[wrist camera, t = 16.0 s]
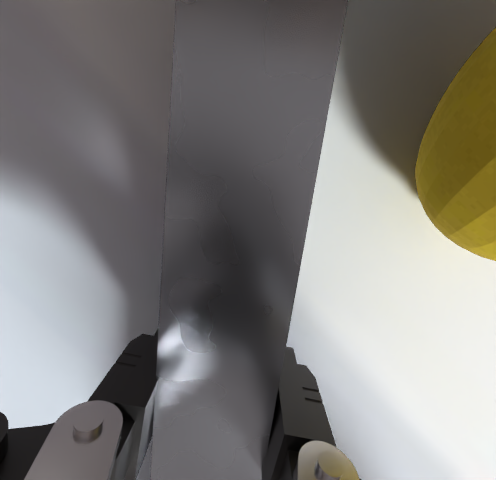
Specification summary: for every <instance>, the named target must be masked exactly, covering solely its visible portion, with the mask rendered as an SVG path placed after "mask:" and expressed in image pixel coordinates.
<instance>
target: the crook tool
mask: <svg viewBox="0 0 496 480" xmlns="http://www.w3.org/2000/svg"><path fill="white" fill-rule="evenodd" d="M347 4H348V0H176V11H175V30H174V49H173V67H172V86H171V105H170V123H169V142H168V161H167V179H166V198H165V217H164V235H163V254H162V273H161V291H160V310H159V329H158V347H157V366H156V380H157V381H158V382H157V388H156V394H155V403H154V422H153V441H152V459H151V478H150V480H262V473H261V470H262V467H263V463H264V460H265V456H266V453H267V448H268V443H269V437H270V432H271V426H272V421H273V415H274V410H275V404H276V398H277V393H278V387H279V382H280V376H281V371H282V365H283V359H284V354H285V348H286V343H287V337H288V332H289V326H290V321H291V315H292V309H293V304H294V298H295V293H296V287H297V282H298V276H299V271H300V265H301V259H302V254H303V248H304V243H305V237H306V232H307V226H308V220H309V215H310V209H311V204H312V198H313V193H314V187H315V182H316V176H317V170H318V165H319V159H320V154H321V148H322V143H323V137H324V131H325V126H326V120H327V115H328V109H329V104H330V98H331V93H332V87H333V81H334V76H335V70H336V65H337V59H338V54H339V48H340V43H341V37H342V31H343V26H344V20H345V15H346V9H347Z"/></svg>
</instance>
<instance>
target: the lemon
mask: <svg viewBox="0 0 496 480" xmlns="http://www.w3.org/2000/svg"><path fill="white" fill-rule="evenodd" d="M415 179H416V186H417V192H418V196H419V199H420V201H421V204H422V206H423V208H424V210H425V212H426V214H427V216H428V217H429V219H430V220H431V221H432V223H433V224H434V226H435V227H436V228H437V229H438V230H439V231H440V232H442V233H443V234H444V235H445V236H446V237H447V238H448V239H450V240H451V241H453V242H454V243H455V244H457V245H458V246H460V247H462V248H464V249H466V250H468V251H470V252H472V253H474V254H476V255H479V256H481V257H484V258H487V259H491V260H494V261H496V27H495V29H494V30H493V31H492V32H491V33H490V34H489V35H488V36H487V37H486V38H485V39H484V41H483V42H482V43H481V44H480V45H479V46H478V47H477V49H476V50H475V51H474V52H473V53H472V55H471V56H470V57H469V58H468V60H467V61H466V62H465V64H464V65H463V66H462V68H461V69H460V70H459V72H458V73H457V74H456V76H455V77H454V79H453V80H452V82H451V83H450V85H449V86H448V88H447V90H446V91H445V93H444V95H443V96H442V98H441V100H440V101H439V103H438V105H437V107H436V109H435V111H434V113H433V115H432V117H431V119H430V121H429V124H428V126H427V128H426V130H425V133H424V136H423V139H422V141H421V145H420V149H419V153H418V157H417V162H416V166H415Z"/></svg>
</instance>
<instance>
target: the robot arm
mask: <svg viewBox="0 0 496 480" xmlns="http://www.w3.org/2000/svg"><path fill="white" fill-rule="evenodd" d="M158 329H159V328H158ZM157 347H158V330H157V331H156V333H155V335H154V336H152V335H147V334H142V335H140V336H138V337H137V338H135V339H134V340H132V341H130V343H129V344H128V346H127V347H126V348H125V350H124V351H123V353H122V355H120V357H119V358H118V359H117V361H116V363H115V364H114V365H113V366H112V368H111V369H110V371H109V372H108V373H107V375H106V376H105V378H104V379H103V380H102V382H101V383H100V385H99V386H98V387H97V389H96V390H95V391H94V393H93V394H92V396H91V397H90V398H89V400H88V401H87V402H84V403H81V404H78V405H76V406H74V407H72V408H70V409H69V410H67V411H66V412H65V413H63V414H62V415H61V416H60V417H59V418H58V420H57V421H56V422H55V423H52V424H48V425H42V426H33V427H24V428H15V429H8V420H7V418H6V416H5V415H4V414H3V413H1V412H0V480H136V477H137V474H138V472H139V469H140V467H141V464H142V461H143V459H144V456H145V453H146V451H147V448H148V445H149V443H150V440H151V437H152V435H153V422H154V403H155V394H156V388H157V382H158V381H157V380H156V366H157ZM261 473H262V480H361V479H359V477H358V474H357V471H356V469H355V467H354V466H353V464H352V463H351V461H350V460H349V459H348V458H347V456H346V455H345V454H344V453H342V452H341V451H340V450H339V449H337V448H336V444H335V441H334V438H333V435H332V431H331V428H330V425H329V422H328V418H327V415H326V412H325V409H324V405H323V404H322V399H321V395H320V393H319V389H318V386H317V382H316V379H315V377H314V376H313V374H312V373H311V372H310V370H309V369H308V368H307V366H305V365H300V364H297V362H296V358H295V354H294V350H293V348H291V347H286V348H285V354H284V359H283V365H282V371H281V376H280V382H279V387H278V393H277V398H276V404H275V410H274V415H273V421H272V426H271V432H270V437H269V443H268V448H267V453H266V456H265V460H264V463H263V467H262V470H261Z"/></svg>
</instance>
